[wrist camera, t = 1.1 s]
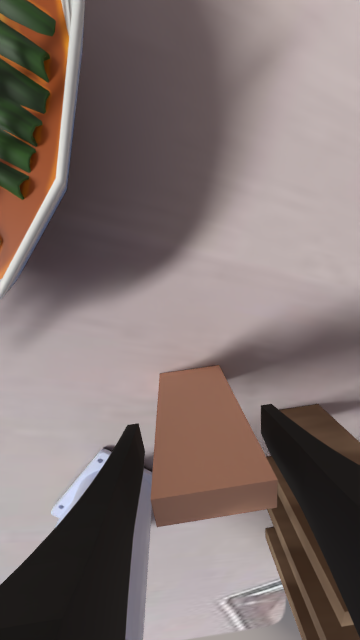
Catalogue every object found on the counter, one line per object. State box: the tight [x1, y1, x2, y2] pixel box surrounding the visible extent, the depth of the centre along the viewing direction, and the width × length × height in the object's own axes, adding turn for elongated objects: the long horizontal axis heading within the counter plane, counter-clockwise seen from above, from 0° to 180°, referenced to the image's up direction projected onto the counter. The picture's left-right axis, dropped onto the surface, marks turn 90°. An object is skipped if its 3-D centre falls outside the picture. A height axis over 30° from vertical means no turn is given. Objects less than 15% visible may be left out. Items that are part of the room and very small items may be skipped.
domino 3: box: [267, 494, 360, 640], centre depth 17 cm, size 2×5×9 cm, turn 98°
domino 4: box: [266, 527, 320, 640], centre depth 18 cm, size 2×5×9 cm, turn 97°
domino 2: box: [266, 456, 354, 627], centre depth 15 cm, size 2×5×9 cm, turn 97°
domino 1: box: [280, 404, 360, 465], centre depth 14 cm, size 2×5×9 cm, turn 97°
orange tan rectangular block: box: [150, 365, 278, 527], centre depth 12 cm, size 2×5×9 cm, turn 97°
